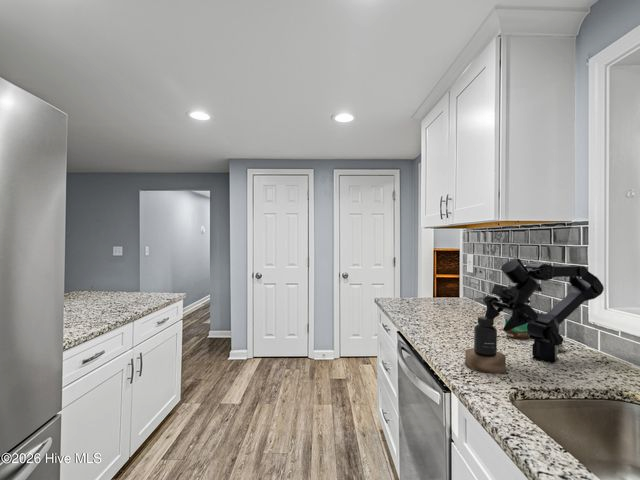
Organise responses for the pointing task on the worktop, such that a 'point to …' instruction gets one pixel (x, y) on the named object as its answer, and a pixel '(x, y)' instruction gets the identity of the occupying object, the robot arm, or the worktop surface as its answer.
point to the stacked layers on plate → (560, 345)
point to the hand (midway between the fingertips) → (493, 326)
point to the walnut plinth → (485, 362)
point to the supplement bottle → (485, 337)
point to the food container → (516, 330)
